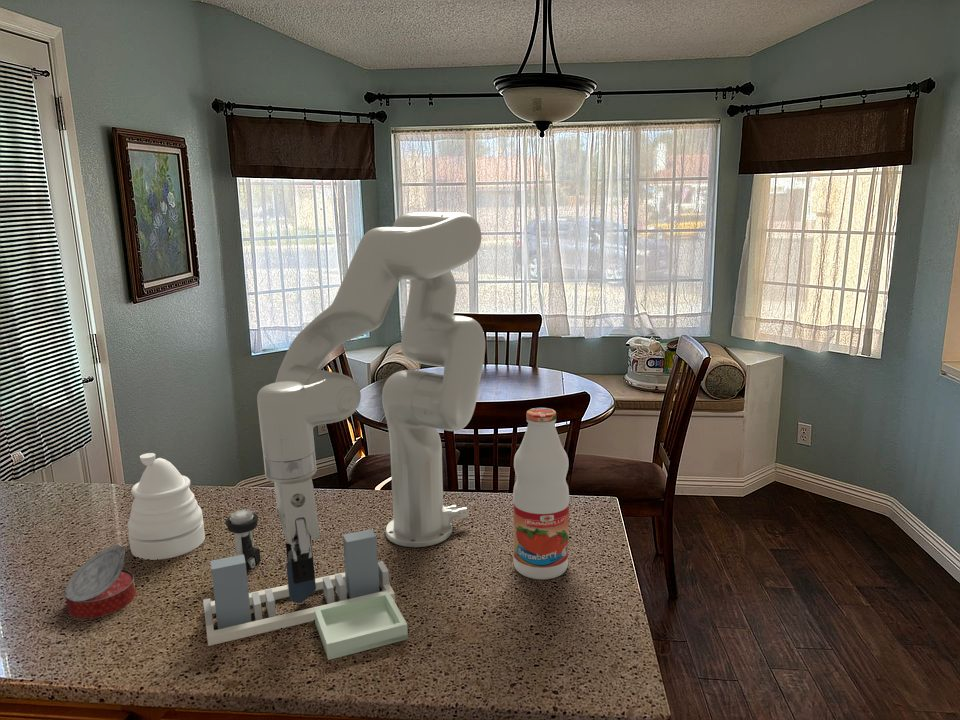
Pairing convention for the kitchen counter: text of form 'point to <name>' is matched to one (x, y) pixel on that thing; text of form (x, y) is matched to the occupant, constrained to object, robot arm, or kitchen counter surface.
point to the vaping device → (298, 590)
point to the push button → (244, 535)
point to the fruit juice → (541, 499)
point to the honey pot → (163, 513)
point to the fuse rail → (236, 600)
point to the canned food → (100, 585)
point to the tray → (360, 625)
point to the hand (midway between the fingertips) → (301, 571)
